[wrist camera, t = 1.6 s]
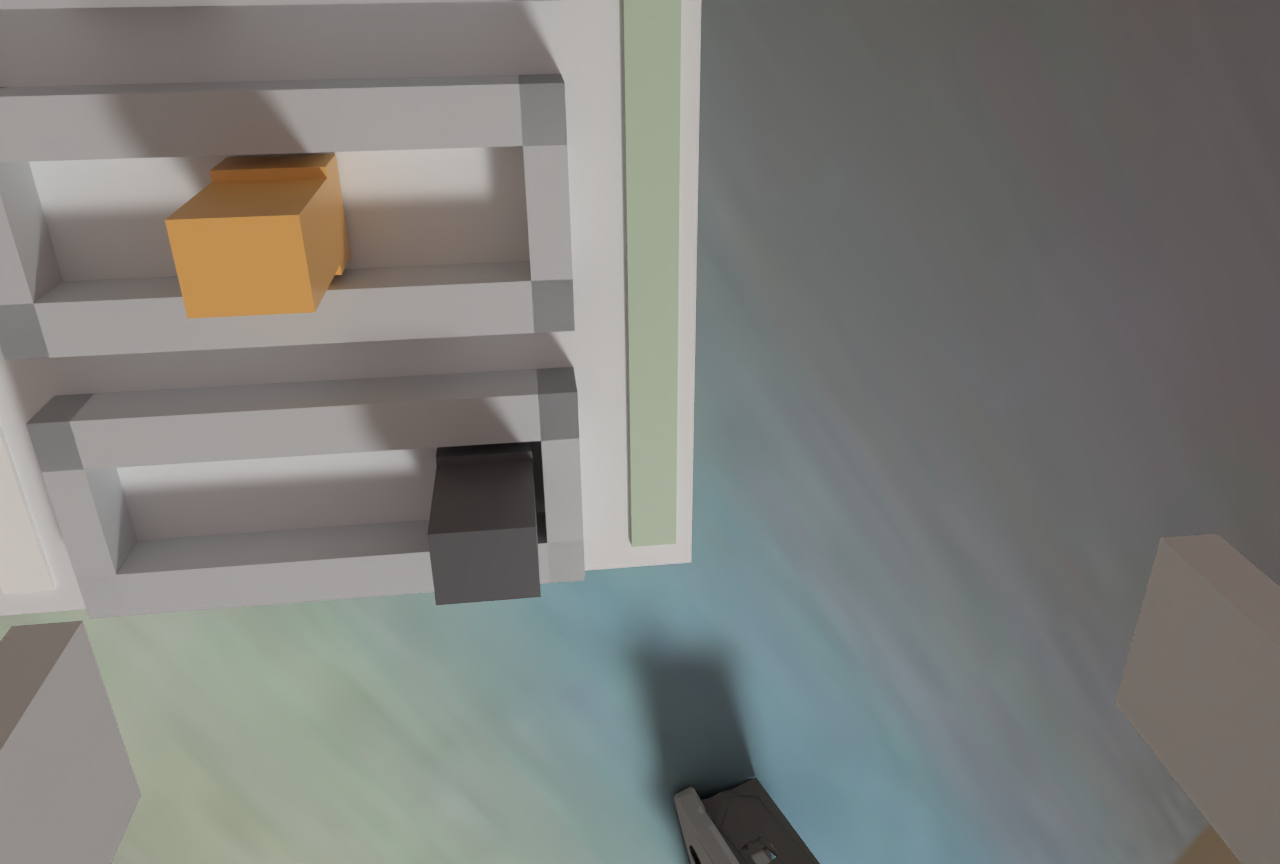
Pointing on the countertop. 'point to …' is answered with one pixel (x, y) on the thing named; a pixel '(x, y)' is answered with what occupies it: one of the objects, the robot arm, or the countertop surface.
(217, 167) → the block
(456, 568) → the block
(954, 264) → the countertop surface
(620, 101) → the panel
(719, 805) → the electrical switch
